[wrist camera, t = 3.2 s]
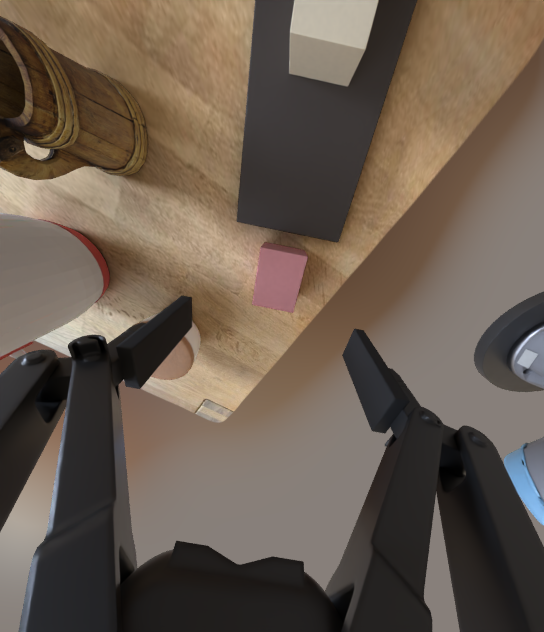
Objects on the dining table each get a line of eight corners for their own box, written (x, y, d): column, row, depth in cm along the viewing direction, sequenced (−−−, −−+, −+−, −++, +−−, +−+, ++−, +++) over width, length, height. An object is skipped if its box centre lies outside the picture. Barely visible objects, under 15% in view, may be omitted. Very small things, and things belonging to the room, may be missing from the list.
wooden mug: (71, 187, 27) (-248, 147, 11) (74, 54, 21) (-624, -472, 5) (135, 222, 28) (-60, 232, 12) (156, 107, 22) (-170, -158, 6)
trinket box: (216, 316, 35) (194, 349, 26) (201, 358, 40) (179, 396, 31) (156, 292, 33) (113, 318, 25) (149, 338, 38) (111, 373, 30)
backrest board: (431, -59, 16) (478, -147, 12) (336, 241, 28) (344, 245, 24) (267, -99, 16) (261, -203, 12) (238, 221, 27) (230, 222, 23)
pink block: (304, 249, 28) (308, 256, 24) (292, 299, 32) (293, 312, 28) (264, 241, 28) (260, 247, 24) (256, 292, 32) (252, 305, 28)
